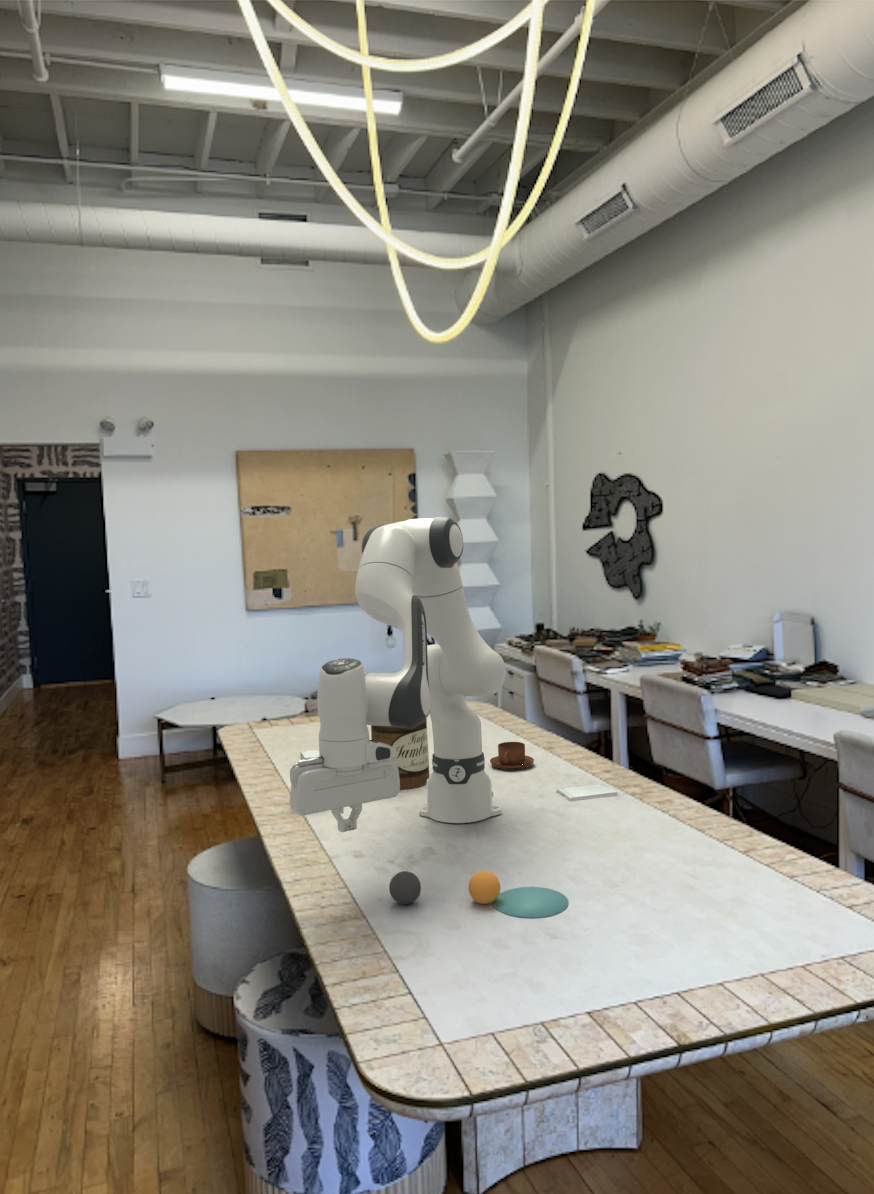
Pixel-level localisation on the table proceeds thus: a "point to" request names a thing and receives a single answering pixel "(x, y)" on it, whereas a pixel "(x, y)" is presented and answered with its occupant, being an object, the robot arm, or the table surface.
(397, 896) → the black ball
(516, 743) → the cup and saucer
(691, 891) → the table surface
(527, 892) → the teal flat disc
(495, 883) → the orange ball
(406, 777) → the wooden container
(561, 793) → the hard drive
